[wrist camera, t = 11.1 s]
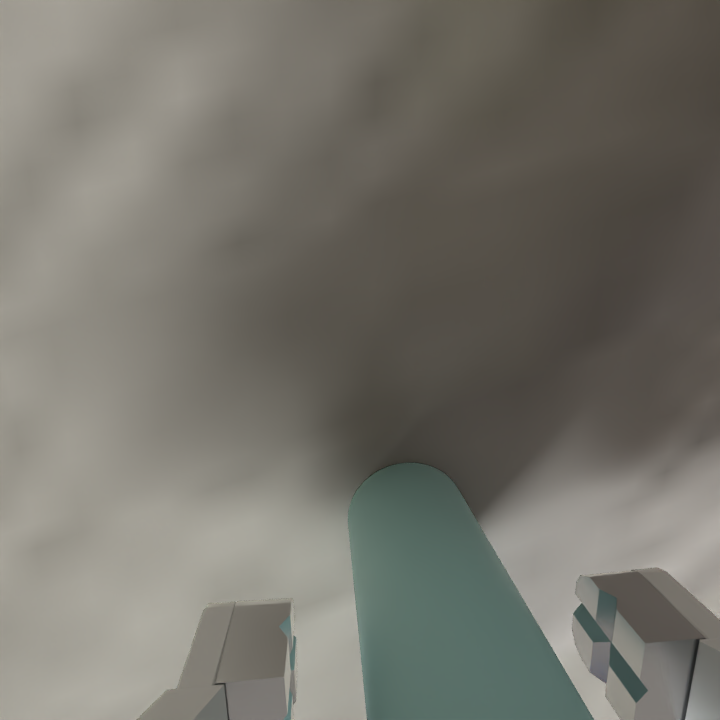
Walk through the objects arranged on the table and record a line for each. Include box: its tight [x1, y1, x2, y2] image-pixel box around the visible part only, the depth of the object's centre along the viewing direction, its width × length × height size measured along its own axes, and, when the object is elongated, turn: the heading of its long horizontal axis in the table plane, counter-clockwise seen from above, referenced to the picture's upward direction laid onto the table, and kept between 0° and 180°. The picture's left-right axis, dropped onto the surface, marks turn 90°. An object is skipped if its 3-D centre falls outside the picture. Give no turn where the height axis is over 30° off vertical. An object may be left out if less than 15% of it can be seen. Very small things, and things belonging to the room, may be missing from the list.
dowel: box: [348, 463, 594, 720], centre depth 7 cm, size 3×3×8 cm
